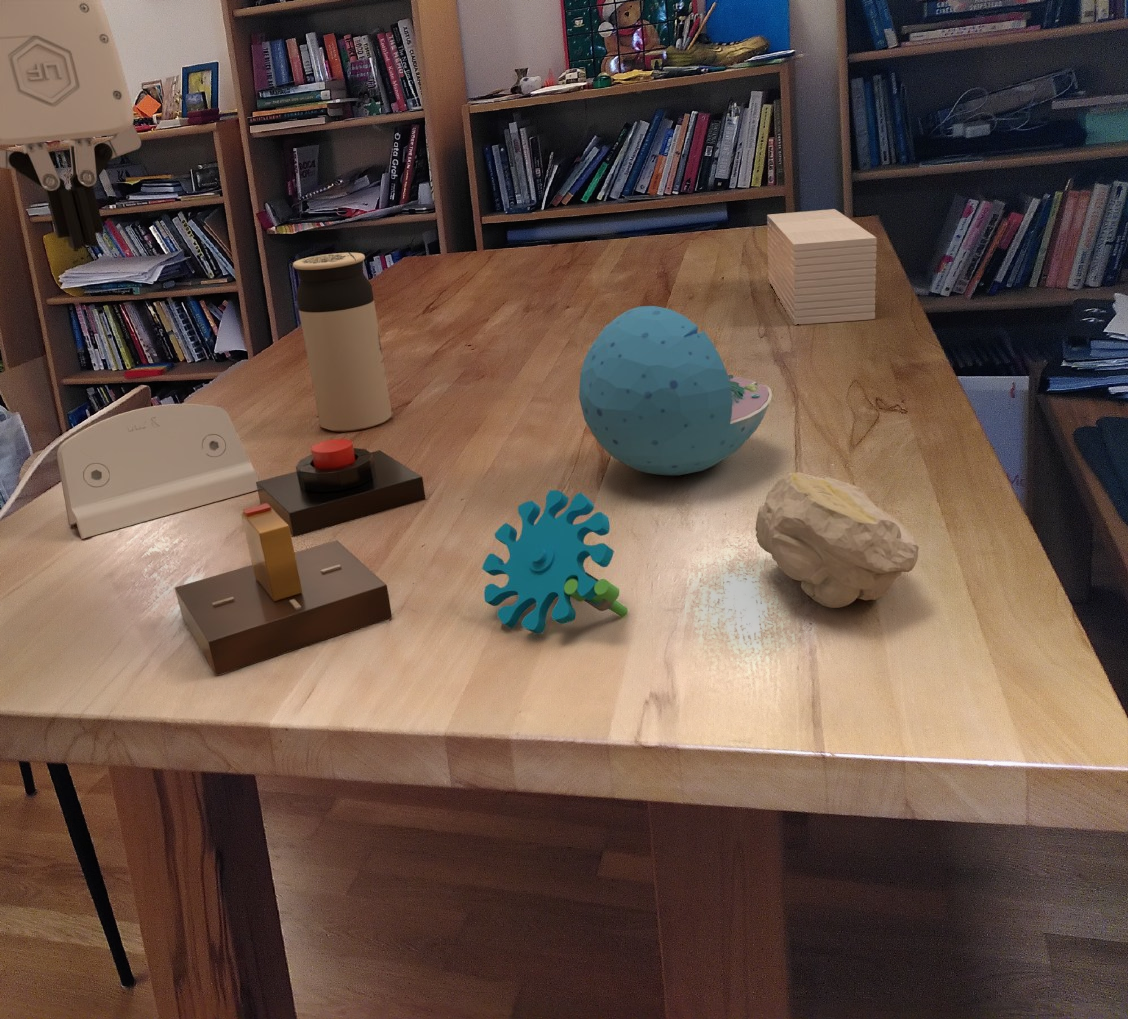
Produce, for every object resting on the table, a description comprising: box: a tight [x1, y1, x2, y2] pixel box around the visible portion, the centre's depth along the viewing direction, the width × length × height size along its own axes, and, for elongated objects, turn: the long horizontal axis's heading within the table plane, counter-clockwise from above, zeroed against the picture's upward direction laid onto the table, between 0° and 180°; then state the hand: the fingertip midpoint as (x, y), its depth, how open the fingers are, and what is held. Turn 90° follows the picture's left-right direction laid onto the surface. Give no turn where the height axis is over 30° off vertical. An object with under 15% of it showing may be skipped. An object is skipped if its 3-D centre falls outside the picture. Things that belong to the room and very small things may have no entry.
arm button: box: [310, 438, 356, 469], centre depth 91 cm, size 4×4×2 cm
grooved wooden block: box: [766, 208, 878, 326], centre depth 153 cm, size 32×11×11 cm, turn 176°
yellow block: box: [240, 503, 302, 601], centre depth 71 cm, size 5×2×5 cm, turn 30°
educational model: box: [578, 305, 773, 477], centre depth 91 cm, size 16×19×15 cm
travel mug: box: [292, 252, 393, 433], centre depth 113 cm, size 8×8×18 cm
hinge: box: [56, 403, 260, 540], centre depth 95 cm, size 17×5×10 cm, turn 124°
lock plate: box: [174, 539, 393, 676], centre depth 72 cm, size 12×10×3 cm
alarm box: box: [256, 447, 427, 538], centre depth 92 cm, size 12×10×4 cm
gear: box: [481, 489, 629, 635], centre depth 70 cm, size 11×6×10 cm
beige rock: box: [755, 471, 920, 609], centre depth 68 cm, size 12×8×10 cm
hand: (83, 245), depth 74 cm, fingers closed
